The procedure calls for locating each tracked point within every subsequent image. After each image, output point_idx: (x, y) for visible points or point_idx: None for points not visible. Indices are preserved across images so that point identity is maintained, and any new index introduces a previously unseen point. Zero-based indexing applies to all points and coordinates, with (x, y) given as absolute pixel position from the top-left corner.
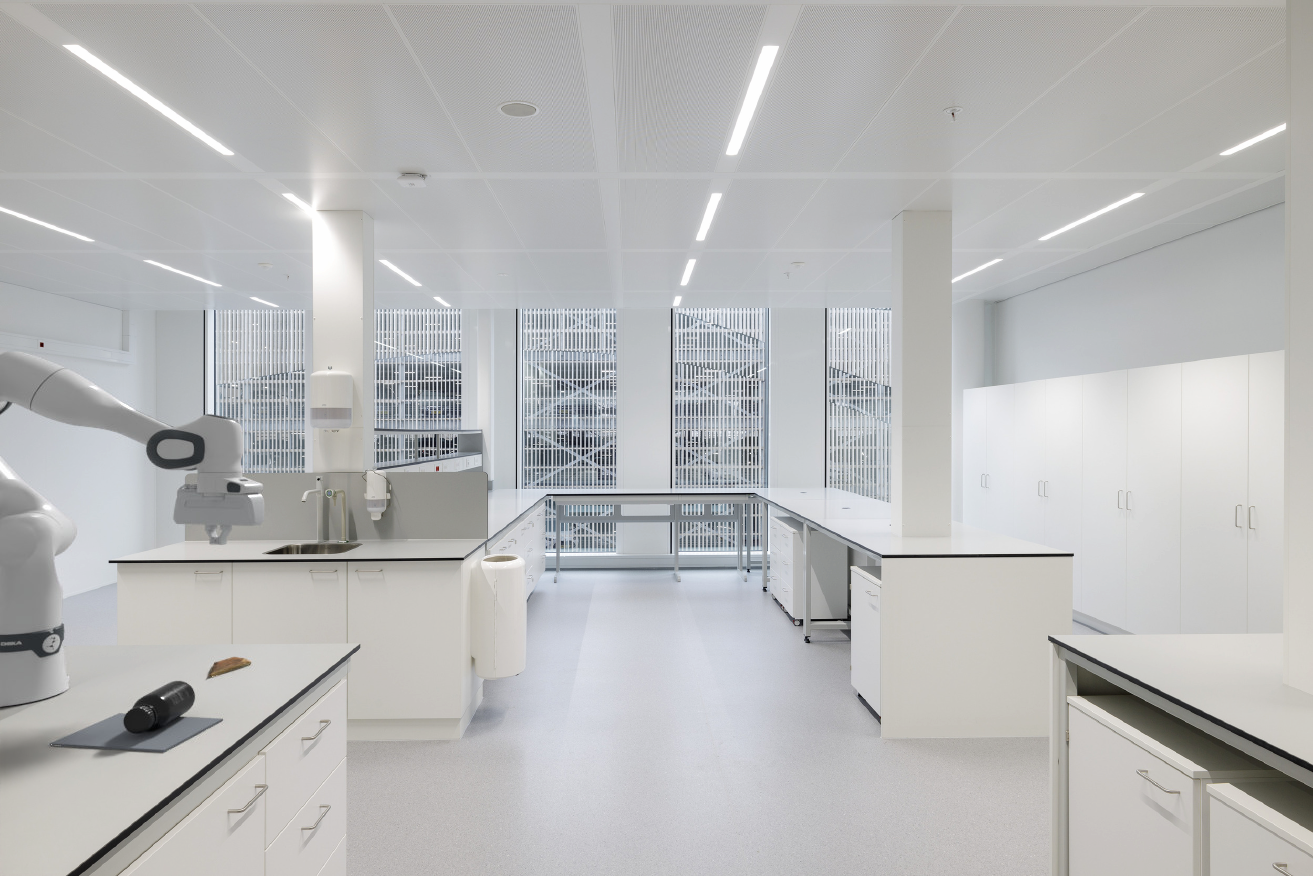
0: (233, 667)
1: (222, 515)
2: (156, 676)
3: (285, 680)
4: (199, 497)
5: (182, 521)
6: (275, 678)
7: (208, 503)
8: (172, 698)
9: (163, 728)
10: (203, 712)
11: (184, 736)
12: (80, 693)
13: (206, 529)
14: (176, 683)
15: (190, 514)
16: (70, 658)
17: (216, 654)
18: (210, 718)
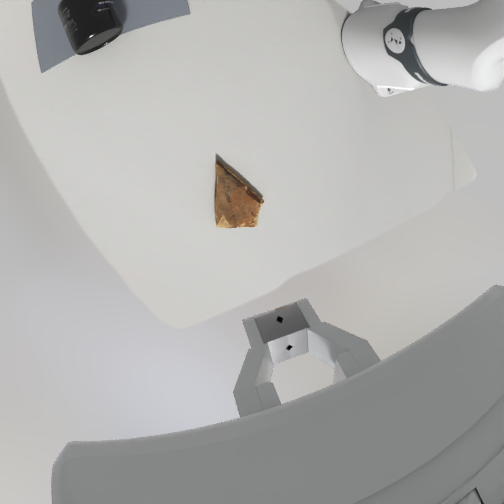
0: (216, 198)
1: (264, 478)
2: (298, 136)
3: (104, 204)
4: (500, 478)
5: (486, 304)
6: (124, 202)
7: (428, 493)
8: (61, 15)
9: None
10: (88, 71)
11: (39, 25)
12: (326, 59)
13: (359, 345)
14: (82, 28)
15: (485, 357)
16: (431, 161)
17: (303, 233)
18: (54, 63)
